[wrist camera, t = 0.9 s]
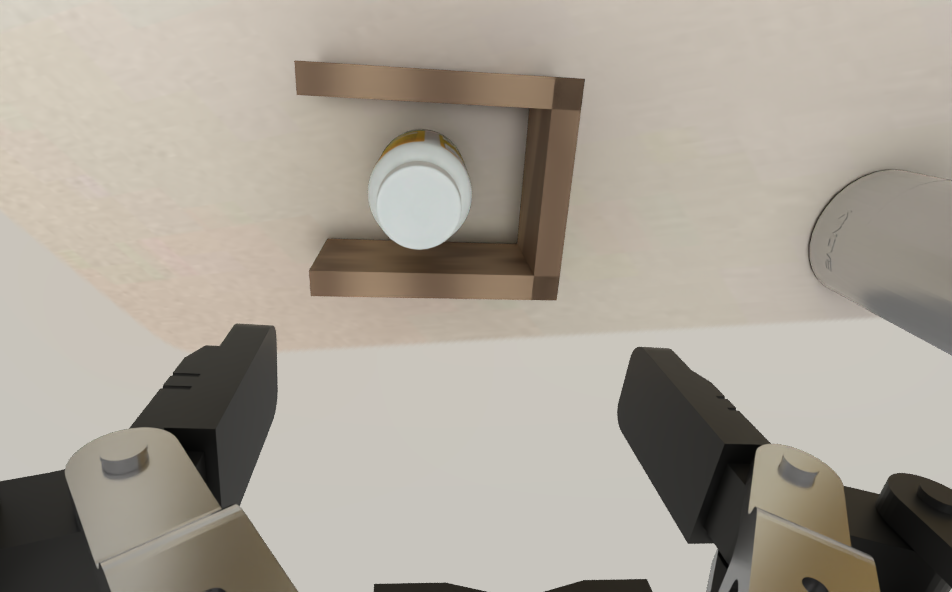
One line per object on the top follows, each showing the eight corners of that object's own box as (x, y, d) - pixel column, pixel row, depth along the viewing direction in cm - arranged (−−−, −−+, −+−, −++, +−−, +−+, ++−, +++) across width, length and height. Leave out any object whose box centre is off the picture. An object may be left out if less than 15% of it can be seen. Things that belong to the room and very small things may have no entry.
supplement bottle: (474, 142, 33) (492, 168, 24) (451, 223, 35) (460, 275, 26) (388, 117, 32) (374, 135, 23) (370, 202, 34) (350, 248, 25)
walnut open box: (556, 77, 32) (584, 79, 26) (536, 265, 36) (556, 300, 31) (318, 62, 30) (294, 60, 25) (328, 260, 35) (310, 296, 29)
